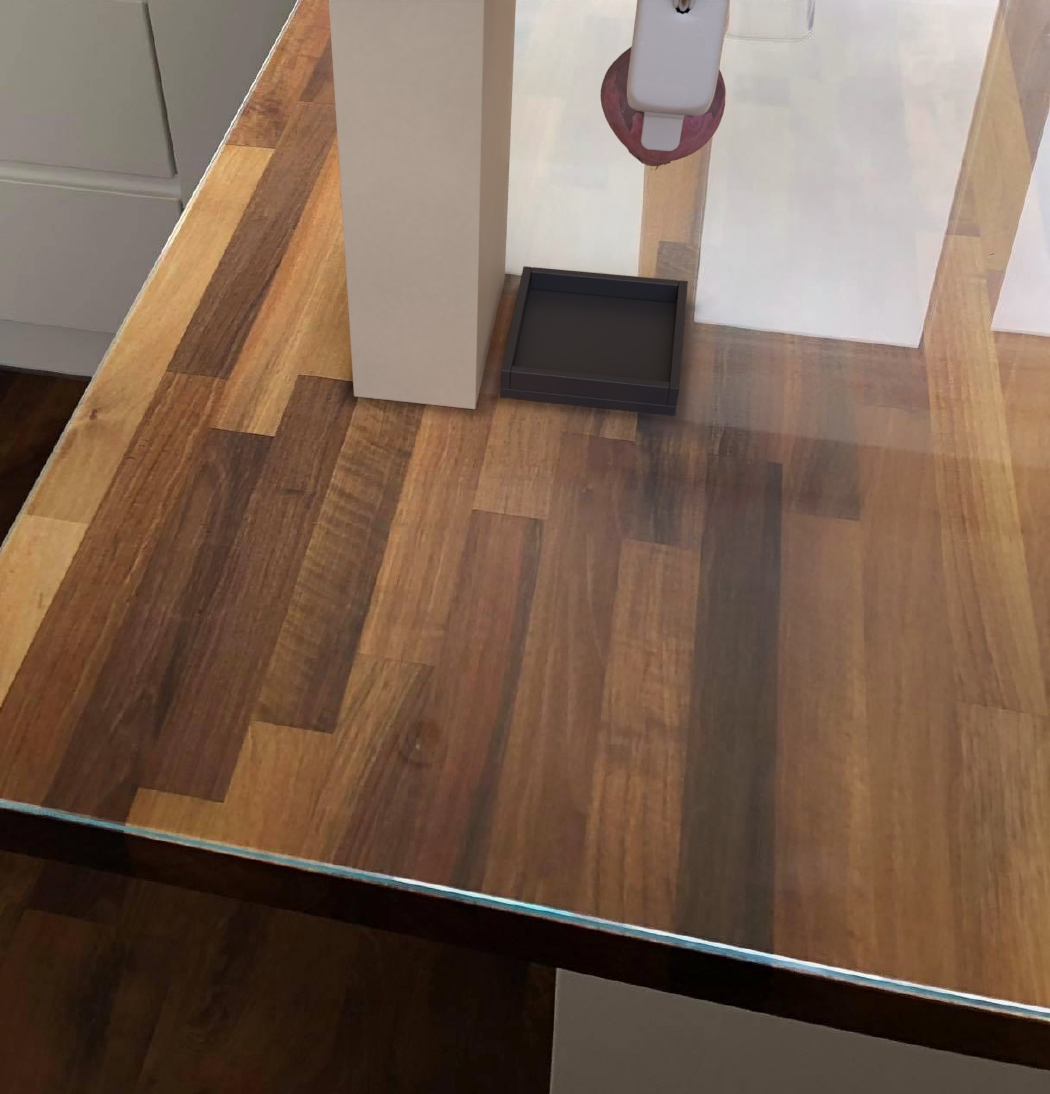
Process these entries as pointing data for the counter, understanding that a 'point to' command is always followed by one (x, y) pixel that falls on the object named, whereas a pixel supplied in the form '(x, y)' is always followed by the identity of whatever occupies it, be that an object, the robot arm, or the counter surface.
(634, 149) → the vegetable
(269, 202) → the counter surface
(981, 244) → the counter surface
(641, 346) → the pan
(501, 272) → the column
